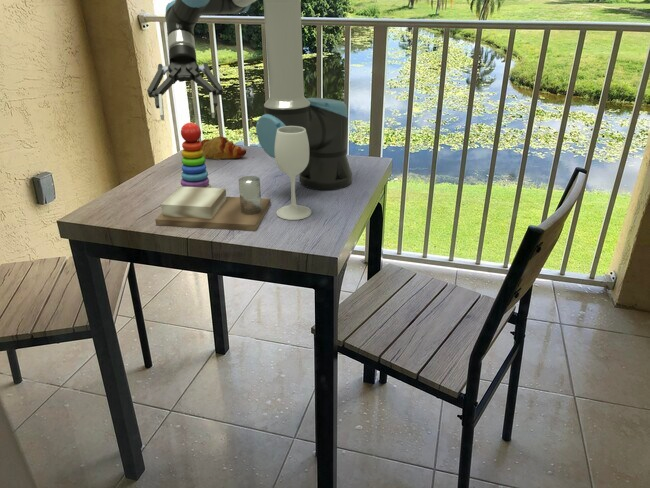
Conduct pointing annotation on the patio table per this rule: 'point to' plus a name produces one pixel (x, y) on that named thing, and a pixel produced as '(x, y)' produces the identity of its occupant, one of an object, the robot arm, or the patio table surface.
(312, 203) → the patio table surface
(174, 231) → the patio table surface
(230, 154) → the croissant
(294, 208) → the wineglass
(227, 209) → the board
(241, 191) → the grey brown short cylinder
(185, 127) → the stacking toy
